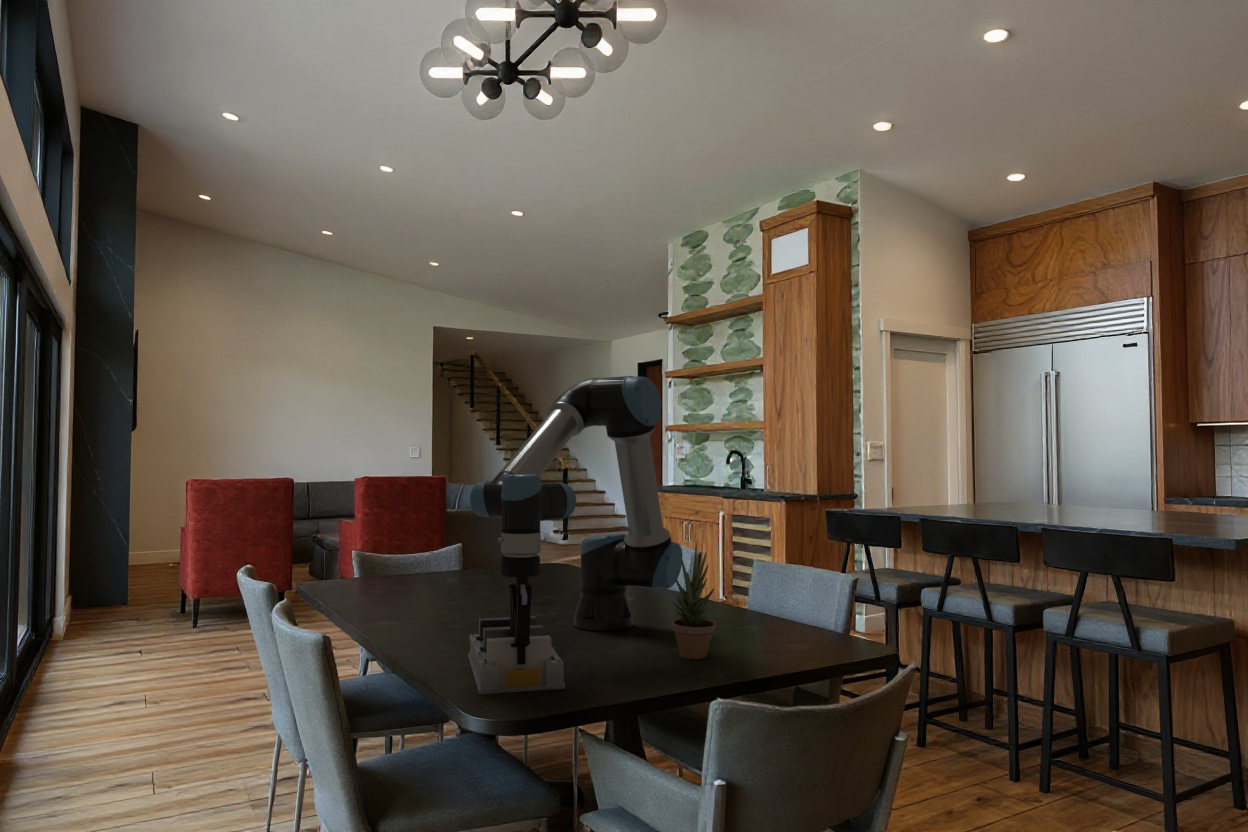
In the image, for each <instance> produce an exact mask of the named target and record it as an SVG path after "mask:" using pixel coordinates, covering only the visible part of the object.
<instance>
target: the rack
mask: <svg viewBox="0 0 1248 832" xmlns="http://www.w3.org/2000/svg"><path fill="white" fill-rule="evenodd" d="M537 620H538V618H537V617H536V616H535V615H530V636H545V635H544V634H545V626H543V625H542V624H537ZM509 637H511V636H510V616H502V617H484V618H483V617H481V618H478V634H475V633H473V634H472V633H469V652H467V653H468V654H467V656H468V660H469V664H470V668H471V671H472V675H473V678H474V682H475V685H476V689H477V692H478V695H490V694H491V695H492V694H504V693H519V692H533V691H534V692H535V691H548V690H549V691H550V690H562V689H566V683H565V682H564V672H565V671H564V661H563V660H562V659H561V657H560V656H559V655H558V653H557V652H556V651H555V649H554V648H553V646H552V645H551V660H545V669H544V681H539V668H528V669H512V670H506V684H498V665H497V663H494V664H487V639H490V638H509Z"/></svg>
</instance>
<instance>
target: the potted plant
mask: <svg viewBox="0 0 1248 832" xmlns="http://www.w3.org/2000/svg"><path fill="white" fill-rule="evenodd" d="M697 546H698V544H697V542H695V546H694V558H693V559H694V560H693V568H692V569H693V571H692V577H691V578H692V579H690V575H689V571H687V570H686V566H685V564H684V560H683V559H682V567H681V569H682V572H683V578H684V585H685V589H684V588H683V586H681V584H680V582H679V580H678V579H676V577H675V580H676V582H675V584H676V586H677V587H678V590H679V593H678V596H677V595H675V597H676V598H675V599H676V601H677V602H678V603H679V605H680V606H679V605H678V604H676V603H675V602H674V601H673V600H671V603H672V604H673V605H674V606H675V607H676V608H677V609H676V608H674V609H673V610H674V611H675V612H676V613H677V614H678V615H679V617H681V618H676V619H674V620H672V622H671V625H672V627H671V629H672V631H674V635H675V640H676V644H677V649H678V653H679V657H680V658H683V659H686V660H687V659H688V660H701V659H704V658H706V657H707V656H708V653H709V652H708V651H709V648H710V646H711V645H710V644H711V641H712V638H713V634H714V632H715V631H716V622H715V621H713V620H709V619H706V617H707V614H705V615H704V613H705V611H706V609H707V608H706V607H705V606H706V604H707V603H708V601H709V600H710V598H711V596H712V594H713V593H714V591H715V588H712V589H711V590H710V592H709V593H708V594H707V595H706V596H705V597H702V598H701V595H702V593H703V590H704V589H705V586H706V584H707V581H708V578H707V577H706V575H707V574H708V573H707V572H708V568H709V564H710V563H707V565H706V567H705V569H704V566H705V563H706V559H707V552H704V556H703V558H702V561H701V564H700V566H699V569H698V571H697V565H698V564H697V563H698V562H697V560H698V549H697V548H698V547H697ZM705 577H706V578H705ZM700 598H701V599H700ZM703 615H704V616H703Z"/></svg>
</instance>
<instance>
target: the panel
mask: <svg viewBox="0 0 1248 832" xmlns="http://www.w3.org/2000/svg"><path fill="white" fill-rule="evenodd" d="M514 642H515V637H509V638H490V639H487V664H494V663H497V665H498V684H506V670H512V669H513V647H511V644H514ZM551 646H552V637H551V636H550V635H549V634H548V635H544V636H530V644H529V645H528V668H539V681H544V669H545V660H551Z"/></svg>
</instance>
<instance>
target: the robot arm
mask: <svg viewBox="0 0 1248 832" xmlns="http://www.w3.org/2000/svg"><path fill="white" fill-rule="evenodd" d="M658 390H659V389H658V388H657V387H656V385H655V383H653V382H652V380H651V379H649V378H648V377H645V376H634V375H625V376H611V377H592V378H591V377H590V378H588V379H584V380H582V381H580V382H578V383H576V384H574V385H573V386H571V387H569V388H568V389H567V390H565V391H564V392H563V393H562V394H561V395H559V396H558V397H557V398H556V399H555V400H554V401H553V403H551V404H550V406H549V407H548V409H547V412H546V417H545V418H544V419H543V420H542V422H541V423H540V424H539V425H538V426H537V427H536V429H535V430H534V431H533V432H532V433H531V435H530V436H529V437H528V438H527V439H526V440H525V442H524V443H523V444H522V445H521V446H520V447H519V448H518V450H517V451H516V452H515V453H514V455H512V457H511V458H510V459H509V461H507V463H506V464H505V465H504V466H503V467H502V469H500V470H499V472H498V473H497V475H496V476H495V477H494V478H493V480H491V481H489V480H485V481H479V482H478V483H476V484H475V485H474V486H473V487H472V489H471V491H470V496H469V503H470V507H471V509H472V511H473V513H474V514H475V515H476V516H479V517H482V518H483V517H484V518H490V519H501V528H500V529H501V531H500V533H501V534H500V535H501V536H502V537H498V538H497V543H501V546H500V549H501V550H500V551H501V553H502V554H503V555H502V556H501V557H500V575H501V576H502V577H506V578H511V580H512V581H511V584H509V585H508V592H509V607H510V608H509V614H510V615H509V617H510V636H511V637H515V642H514V644H511V647H513V669H528V645H529V644H530V616H531V609H532V608H531V604H532V598H533V597H532V593H533V590H532V589H533V588H532V585H531V584H530V583H529V578H530V577H536V576H539V574H540V573H541V556H539V555H538V554H540V553H541V535H542V532H541V522H543V521H545V522H546V521H560V520H562V519H566V518H568V517H570V516H571V515H572V514H573V513H574V511H575V509H576V507H577V496H576V492H575V490H574V489H573V488H572V487H571V486H570V485H569V484H567V483H563V482H559V481H558V482H542V480H541V476H542V475H543V473H544V472H545V471H546V470H547V469H548V467H549V466H550V465H551V463H552V462H553V461H554V460H555V458H556V457H557V456H558V455H559V454H560V452H561V451H562V450H563V449H564V447H565V446H566V445H567V443H568V442H569V441H570V440H571V439H572V437H576V436H579V434H581V433H582V431H583V430H584V429H586V428H588V427H589V428H590V427H595V426H596V427H601V426H603V427H605V430H606V435H607V437H608V438H609V439H611V440H612V441H613V442H614V446H615V452H616V459H617V465H618V466H617V467H618V471H619V477H620V483H621V484H620V485H621V491H622V497H623V504H624V510H625V516H626V521H627V522H626V523H627V528H628V533H627V534H625V533H611V534H610V533H609V534H604V535H597V536H596V535H595V536H589V537H586V538H584V539H583V540H582V542H581V549H580V598H579V600H578V603H577V606H576V610H575V612H574V617H573V626H574V627H576V628H578V629H581V630H588V631H596V632H597V631H600V632H601V631H602V632H604V631H618V630H620V631H621V630H624V629H628V628H631V627H633V626H634V624H633V623H634V622H633V621H634V619H633V614H632V610H631V606H630V604H629V603H630V602H629V601H628V597H627V587H633V588H644V589H653V590H658V589H659V590H660V589H661V590H668V589H670V588H672V587H673V586H674V585H675V584H676V580H675V577H676V579H677V580H678V579H679V576H680V573H681V570H682V560H683V549H682V547H681V545H680V543H678V542H676V541H672V536H671V532H670V530H669V529H667V528H666V527H664V524H663V517H662V511H661V505H660V498H659V491H658V484H657V477H656V470H655V464H654V462H655V461H654V458H653V457H654V455H653V450H652V443H651V435H652V433H654V432H655V429H656V428H655V425H656V424H657V423H658V422H659V421H660V419H661V415H662V413H661V410H662V400H661V397H660V393H659V391H658Z"/></svg>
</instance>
